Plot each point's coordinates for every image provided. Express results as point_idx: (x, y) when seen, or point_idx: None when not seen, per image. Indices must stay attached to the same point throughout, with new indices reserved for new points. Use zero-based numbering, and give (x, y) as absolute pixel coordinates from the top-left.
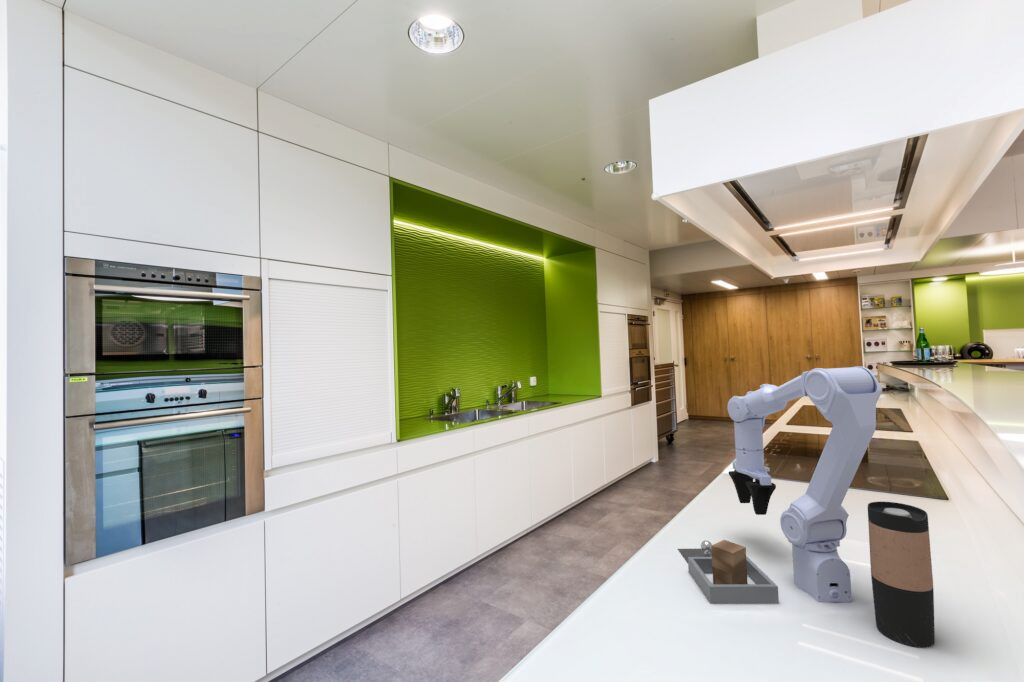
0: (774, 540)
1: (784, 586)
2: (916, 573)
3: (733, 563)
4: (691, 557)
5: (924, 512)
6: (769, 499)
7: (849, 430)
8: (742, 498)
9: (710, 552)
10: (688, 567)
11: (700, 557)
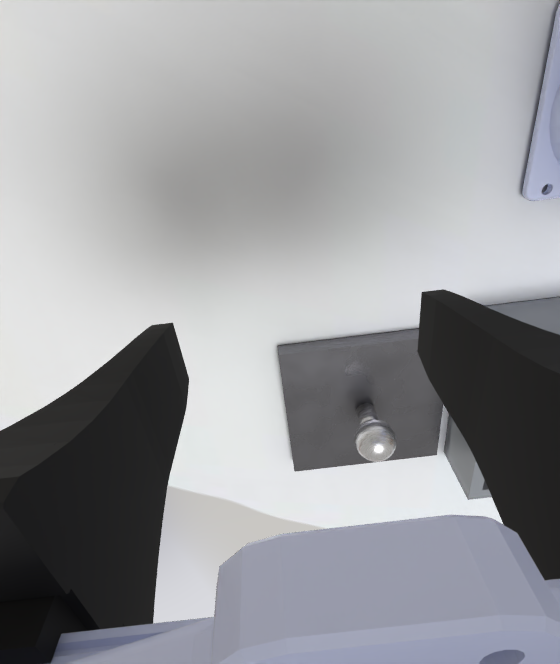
0: (75, 57)
1: (553, 211)
2: None
3: None
4: (472, 492)
5: None
6: (552, 335)
7: None
8: (179, 392)
9: (318, 394)
10: (455, 472)
11: (477, 473)
